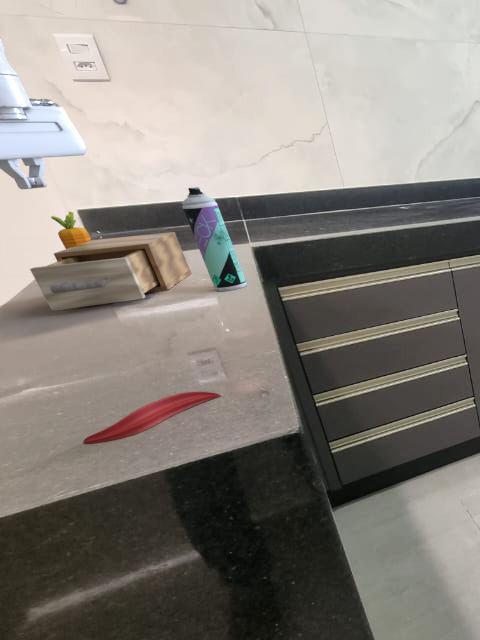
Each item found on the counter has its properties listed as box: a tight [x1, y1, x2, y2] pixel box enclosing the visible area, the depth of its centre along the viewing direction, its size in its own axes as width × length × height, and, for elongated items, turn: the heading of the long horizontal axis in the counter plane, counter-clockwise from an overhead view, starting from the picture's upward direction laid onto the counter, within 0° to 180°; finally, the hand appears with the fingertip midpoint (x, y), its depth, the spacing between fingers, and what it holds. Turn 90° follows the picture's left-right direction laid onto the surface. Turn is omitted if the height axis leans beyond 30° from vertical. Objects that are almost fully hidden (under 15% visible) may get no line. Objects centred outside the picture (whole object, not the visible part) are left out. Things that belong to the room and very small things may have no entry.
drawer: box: [29, 249, 160, 312], centre depth 102 cm, size 19×14×8 cm
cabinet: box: [53, 231, 192, 294], centre depth 113 cm, size 16×15×10 cm
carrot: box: [50, 211, 92, 249], centre depth 125 cm, size 5×5×15 cm
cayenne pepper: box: [82, 391, 222, 444], centre depth 58 cm, size 12×5×2 cm, turn 138°
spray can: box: [181, 186, 248, 292], centre depth 106 cm, size 6×6×20 cm
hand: (33, 188), depth 89 cm, fingers closed
